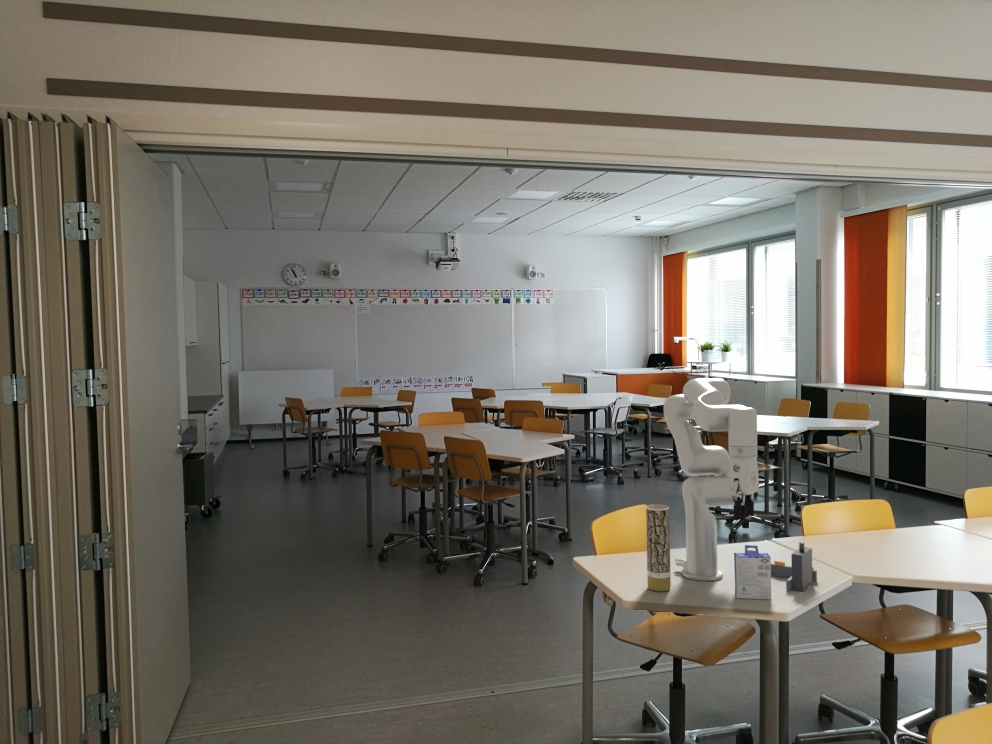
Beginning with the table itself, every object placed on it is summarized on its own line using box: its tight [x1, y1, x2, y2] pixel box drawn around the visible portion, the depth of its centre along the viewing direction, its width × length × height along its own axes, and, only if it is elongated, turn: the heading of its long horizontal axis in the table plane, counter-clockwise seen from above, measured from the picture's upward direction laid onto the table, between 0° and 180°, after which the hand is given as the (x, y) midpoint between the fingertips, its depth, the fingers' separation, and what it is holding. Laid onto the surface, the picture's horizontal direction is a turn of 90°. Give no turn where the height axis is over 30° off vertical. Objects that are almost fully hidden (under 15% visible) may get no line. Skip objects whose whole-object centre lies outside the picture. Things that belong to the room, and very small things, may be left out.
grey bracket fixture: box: [771, 541, 818, 593], centre depth 219 cm, size 18×15×13 cm
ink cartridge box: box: [733, 544, 772, 600], centre depth 207 cm, size 10×6×14 cm, turn 78°
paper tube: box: [645, 503, 671, 592], centre depth 216 cm, size 7×7×25 cm
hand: (743, 516), depth 197 cm, fingers open, 5 cm apart
